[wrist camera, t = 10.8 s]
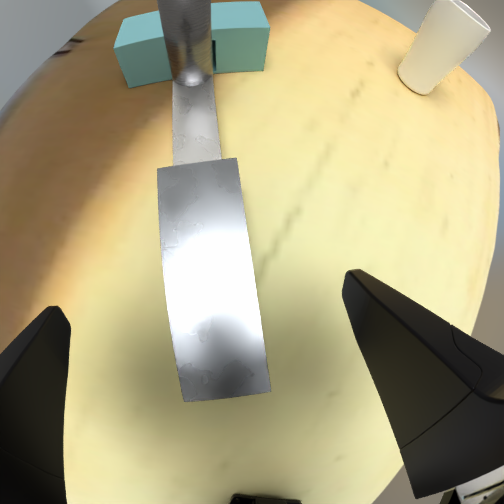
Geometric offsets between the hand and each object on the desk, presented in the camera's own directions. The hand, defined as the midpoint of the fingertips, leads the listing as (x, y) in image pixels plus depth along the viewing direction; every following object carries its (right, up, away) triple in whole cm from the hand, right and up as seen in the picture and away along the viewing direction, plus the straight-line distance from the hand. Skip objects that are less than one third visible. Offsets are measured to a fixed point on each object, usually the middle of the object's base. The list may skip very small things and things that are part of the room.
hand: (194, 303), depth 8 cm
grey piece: (-3, +12, +14) cm, 18 cm away
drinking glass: (+23, +24, +19) cm, 38 cm away
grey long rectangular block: (-1, 0, +13) cm, 13 cm away
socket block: (-5, +22, +16) cm, 28 cm away
